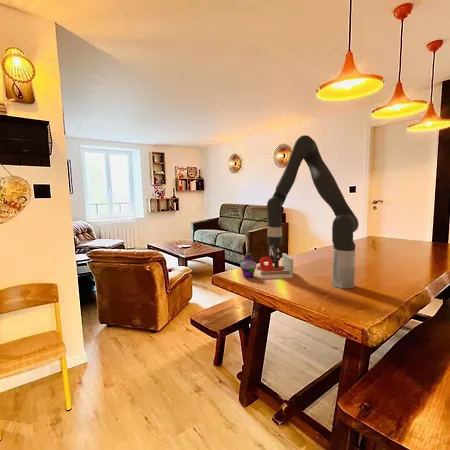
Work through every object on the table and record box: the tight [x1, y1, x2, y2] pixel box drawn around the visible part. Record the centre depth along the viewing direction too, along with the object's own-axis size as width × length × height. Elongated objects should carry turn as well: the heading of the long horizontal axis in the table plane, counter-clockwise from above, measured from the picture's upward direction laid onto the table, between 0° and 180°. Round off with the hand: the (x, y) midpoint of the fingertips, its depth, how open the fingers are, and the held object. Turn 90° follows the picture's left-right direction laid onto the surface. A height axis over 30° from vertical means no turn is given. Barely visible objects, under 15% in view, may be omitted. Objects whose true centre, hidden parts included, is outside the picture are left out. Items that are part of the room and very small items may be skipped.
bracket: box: [259, 255, 285, 271], centre depth 151 cm, size 12×4×8 cm, turn 102°
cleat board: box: [255, 252, 294, 280], centre depth 151 cm, size 14×16×10 cm
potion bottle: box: [240, 252, 258, 279], centre depth 147 cm, size 9×9×12 cm
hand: (274, 265), depth 151 cm, fingers open, 8 cm apart
